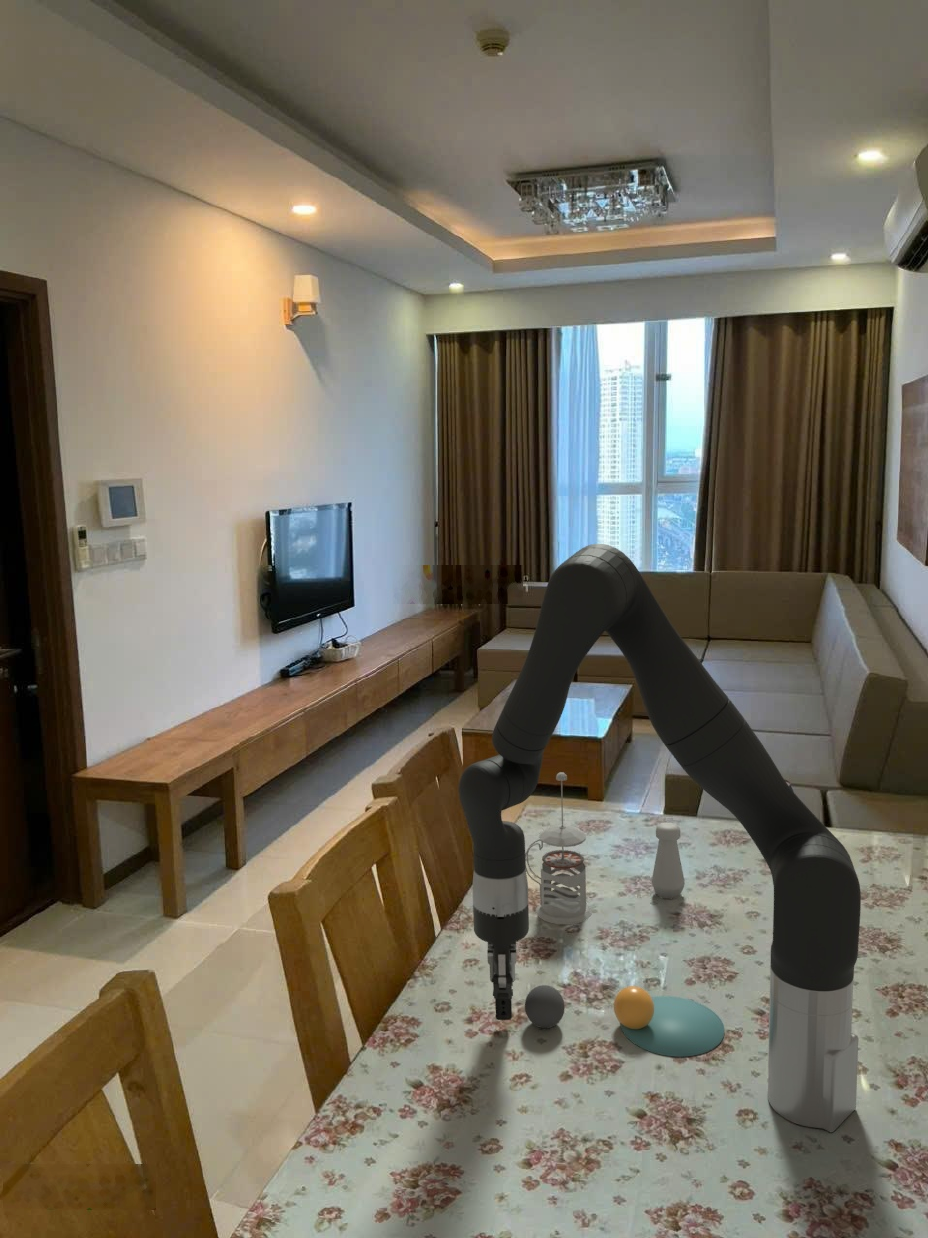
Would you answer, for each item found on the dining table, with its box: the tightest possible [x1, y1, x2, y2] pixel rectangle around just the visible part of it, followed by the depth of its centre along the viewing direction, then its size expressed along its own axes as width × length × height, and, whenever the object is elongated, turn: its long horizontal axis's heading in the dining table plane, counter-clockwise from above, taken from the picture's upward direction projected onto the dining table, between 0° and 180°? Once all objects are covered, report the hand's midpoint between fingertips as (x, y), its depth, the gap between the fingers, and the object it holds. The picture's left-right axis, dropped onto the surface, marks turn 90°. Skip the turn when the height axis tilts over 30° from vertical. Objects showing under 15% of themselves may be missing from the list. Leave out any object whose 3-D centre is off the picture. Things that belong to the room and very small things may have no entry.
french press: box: [525, 771, 593, 925], centre depth 165 cm, size 10×12×25 cm
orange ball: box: [613, 985, 654, 1029], centre depth 132 cm, size 6×6×6 cm
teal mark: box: [619, 995, 725, 1058], centre depth 133 cm, size 14×14×1 cm
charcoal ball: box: [524, 984, 566, 1029], centre depth 133 cm, size 6×6×6 cm
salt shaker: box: [651, 822, 686, 900], centre depth 171 cm, size 6×6×13 cm
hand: (503, 1017), depth 133 cm, fingers closed
